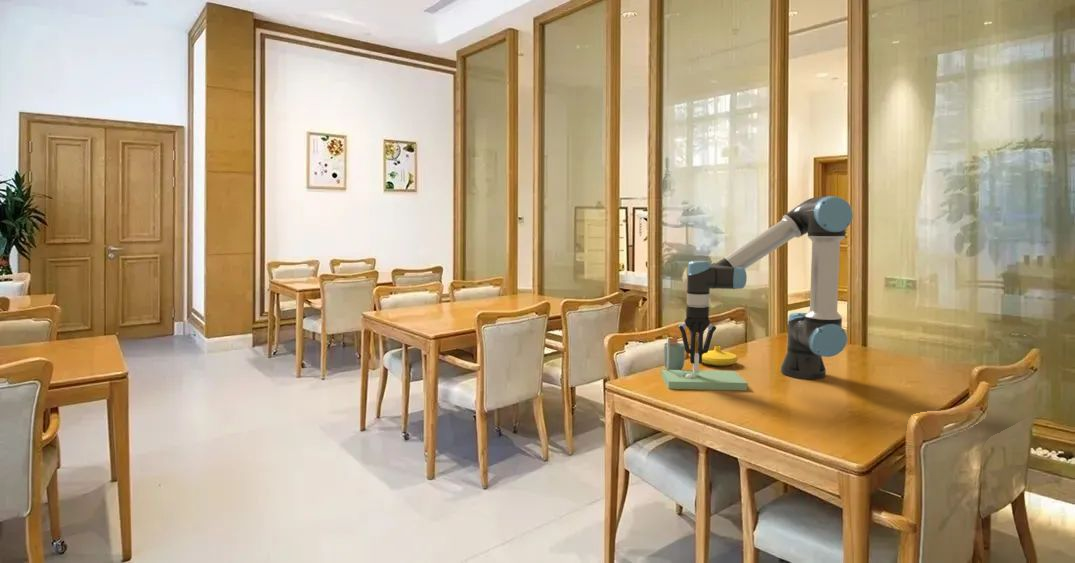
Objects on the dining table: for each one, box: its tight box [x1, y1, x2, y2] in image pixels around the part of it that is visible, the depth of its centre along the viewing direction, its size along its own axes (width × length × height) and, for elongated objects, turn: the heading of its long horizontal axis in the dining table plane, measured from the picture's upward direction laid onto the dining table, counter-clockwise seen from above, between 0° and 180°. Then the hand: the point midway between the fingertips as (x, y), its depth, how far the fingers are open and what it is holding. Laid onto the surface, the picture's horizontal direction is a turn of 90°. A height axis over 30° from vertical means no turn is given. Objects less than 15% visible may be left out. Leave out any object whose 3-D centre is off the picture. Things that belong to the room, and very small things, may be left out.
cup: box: [663, 342, 686, 370], centre depth 227 cm, size 8×8×10 cm
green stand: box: [661, 337, 748, 391], centre depth 209 cm, size 26×16×14 cm, turn 87°
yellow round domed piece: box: [702, 345, 739, 367], centre depth 238 cm, size 16×16×7 cm
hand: (695, 372), depth 210 cm, fingers closed
